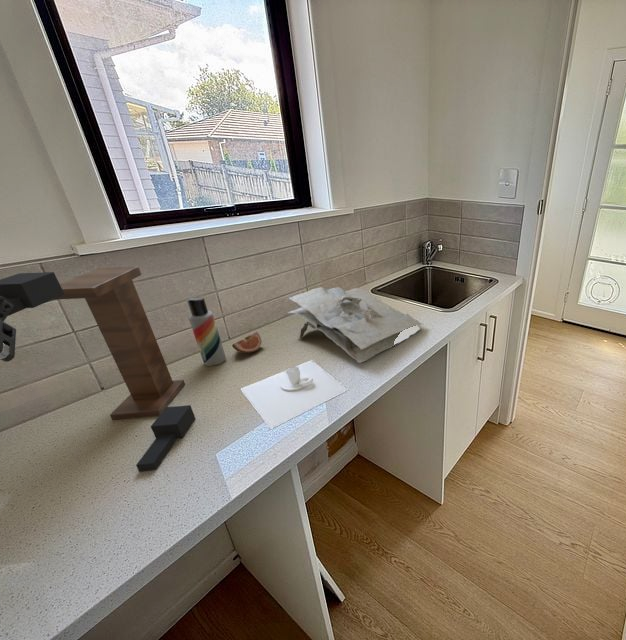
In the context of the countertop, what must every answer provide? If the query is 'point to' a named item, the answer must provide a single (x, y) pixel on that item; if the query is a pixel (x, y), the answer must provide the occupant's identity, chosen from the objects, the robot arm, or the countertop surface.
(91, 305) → the walnut stand
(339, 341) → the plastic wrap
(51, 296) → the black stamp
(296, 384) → the teacup and saucer
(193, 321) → the lotion bottle
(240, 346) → the fruit slice
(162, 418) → the black angular piece
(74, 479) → the countertop surface
